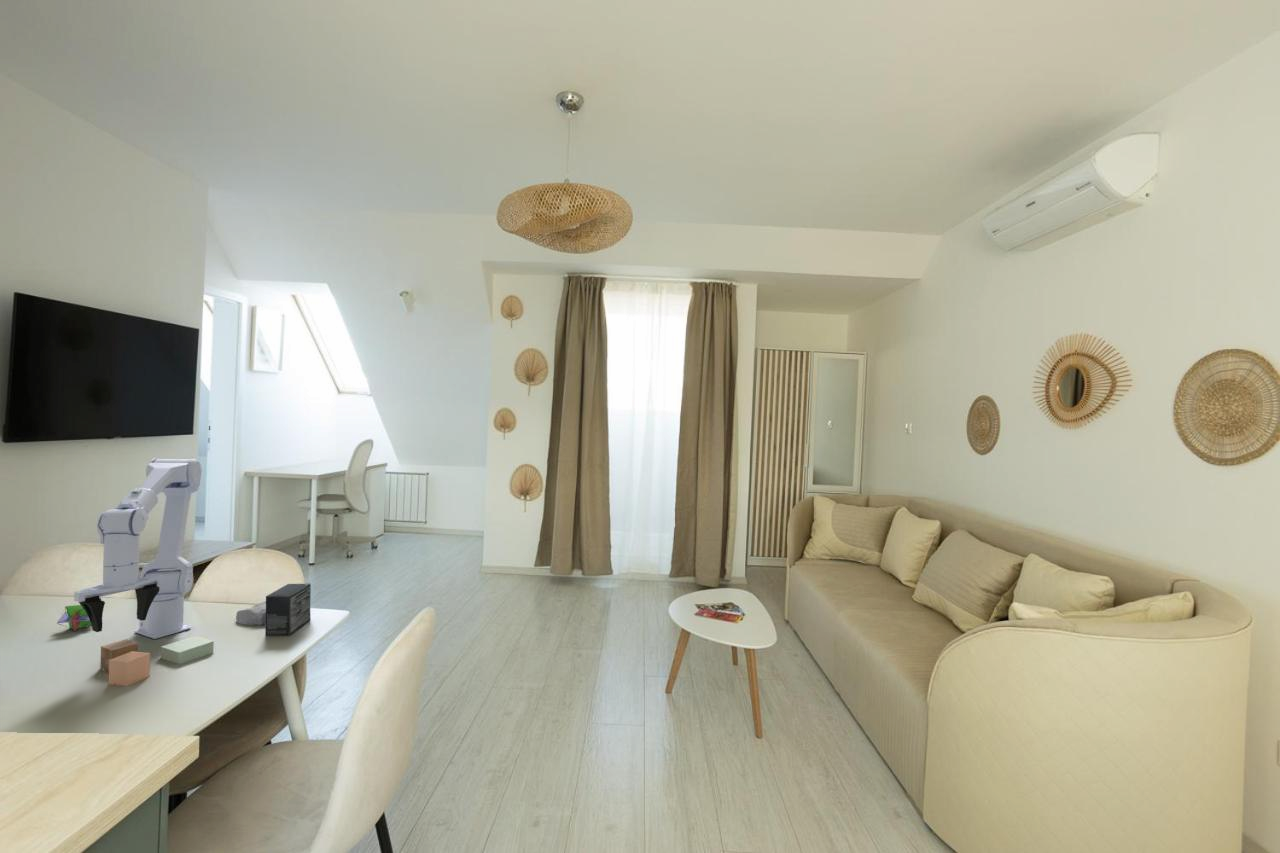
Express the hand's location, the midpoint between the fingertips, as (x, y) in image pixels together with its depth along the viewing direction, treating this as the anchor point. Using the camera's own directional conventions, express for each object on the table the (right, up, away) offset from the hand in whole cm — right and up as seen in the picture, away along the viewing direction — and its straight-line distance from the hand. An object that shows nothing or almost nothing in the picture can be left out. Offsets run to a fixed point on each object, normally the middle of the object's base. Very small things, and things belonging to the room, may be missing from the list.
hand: (119, 624), depth 121 cm
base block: (+9, -10, +7) cm, 15 cm away
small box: (+21, -10, +24) cm, 34 cm away
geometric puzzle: (-29, -8, +19) cm, 36 cm away
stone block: (+10, -10, +32) cm, 35 cm away
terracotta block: (+7, -10, -5) cm, 13 cm away
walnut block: (0, -9, 0) cm, 9 cm away
